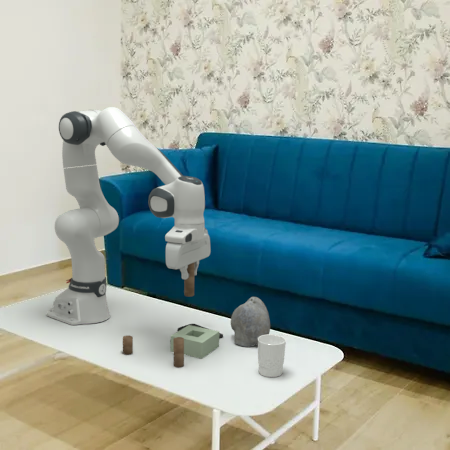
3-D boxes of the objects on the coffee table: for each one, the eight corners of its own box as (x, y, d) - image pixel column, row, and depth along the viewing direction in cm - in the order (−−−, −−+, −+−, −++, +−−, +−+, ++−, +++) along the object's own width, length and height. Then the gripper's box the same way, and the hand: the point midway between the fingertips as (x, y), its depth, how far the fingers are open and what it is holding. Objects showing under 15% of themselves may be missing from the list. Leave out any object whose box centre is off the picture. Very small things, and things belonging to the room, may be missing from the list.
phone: (192, 323, 214) (224, 334, 204) (192, 326, 215) (224, 338, 204) (175, 328, 209) (207, 341, 199) (175, 331, 209) (207, 344, 199)
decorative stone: (220, 341, 201) (221, 296, 198) (238, 331, 209) (240, 288, 206) (260, 352, 192) (262, 305, 190) (277, 342, 201) (279, 297, 198)
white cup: (289, 372, 179) (291, 339, 177) (273, 381, 173) (274, 346, 171) (268, 364, 184) (269, 332, 182) (250, 372, 178) (252, 339, 176)
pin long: (182, 295, 188) (182, 256, 186) (187, 293, 191) (187, 254, 188) (190, 297, 187) (191, 258, 184) (196, 294, 189) (196, 256, 187)
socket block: (170, 351, 191) (170, 335, 191) (188, 339, 201) (188, 325, 200) (201, 358, 187) (202, 342, 186) (219, 346, 196) (219, 331, 195)
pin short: (120, 353, 189) (120, 337, 188) (126, 350, 192) (126, 334, 191) (128, 355, 188) (128, 339, 187) (134, 352, 190) (134, 336, 189)
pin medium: (171, 366, 181) (171, 339, 179) (176, 362, 184) (176, 336, 182) (180, 367, 180) (180, 341, 178) (185, 364, 182) (185, 338, 181)
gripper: (198, 225, 195) (197, 268, 198) (161, 236, 178) (161, 283, 180) (215, 227, 193) (215, 270, 195) (180, 239, 175) (180, 286, 177)
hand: (189, 277), depth 188 cm, fingers closed on pin long, 3 cm apart
